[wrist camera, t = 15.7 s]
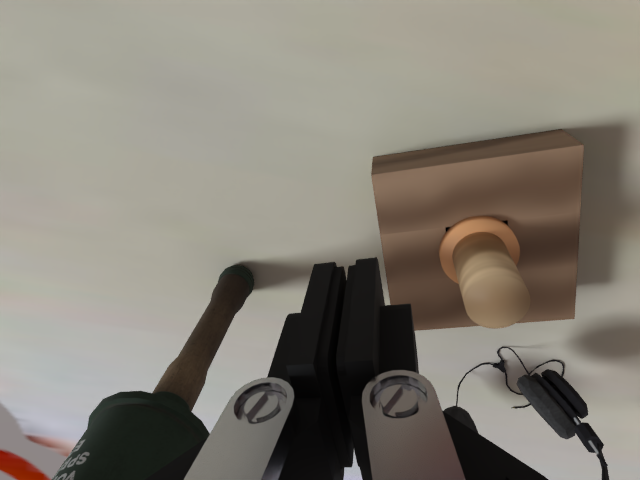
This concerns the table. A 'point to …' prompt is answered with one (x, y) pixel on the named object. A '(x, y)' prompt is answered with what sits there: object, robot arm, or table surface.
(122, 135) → the table surface
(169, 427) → the stick grenade
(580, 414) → the headphones
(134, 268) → the table surface
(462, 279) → the peg
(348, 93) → the table surface
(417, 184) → the socket block
